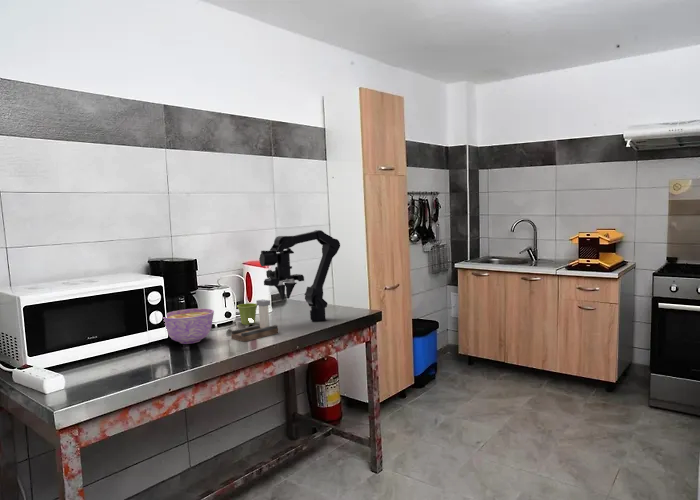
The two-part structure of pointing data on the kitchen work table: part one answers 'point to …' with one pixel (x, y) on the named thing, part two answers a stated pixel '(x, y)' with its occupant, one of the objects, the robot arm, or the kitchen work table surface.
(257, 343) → the kitchen work table surface
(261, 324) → the fader tab
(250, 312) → the plant pot
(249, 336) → the rail
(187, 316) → the bowl of food
